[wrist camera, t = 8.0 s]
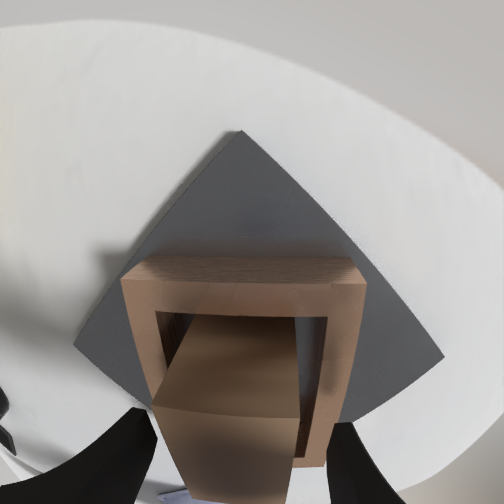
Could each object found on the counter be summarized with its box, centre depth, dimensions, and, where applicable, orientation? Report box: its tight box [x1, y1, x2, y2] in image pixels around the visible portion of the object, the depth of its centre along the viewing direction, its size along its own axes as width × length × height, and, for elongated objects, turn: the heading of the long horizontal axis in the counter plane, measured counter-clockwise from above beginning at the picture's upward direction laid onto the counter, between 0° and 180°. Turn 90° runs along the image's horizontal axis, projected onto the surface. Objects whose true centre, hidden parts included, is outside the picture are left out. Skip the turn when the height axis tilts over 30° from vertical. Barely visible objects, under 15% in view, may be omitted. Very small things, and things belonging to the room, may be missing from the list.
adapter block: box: [151, 314, 300, 504], centre depth 11 cm, size 4×7×6 cm, turn 1°
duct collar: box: [73, 130, 445, 468], centre depth 12 cm, size 15×15×3 cm
